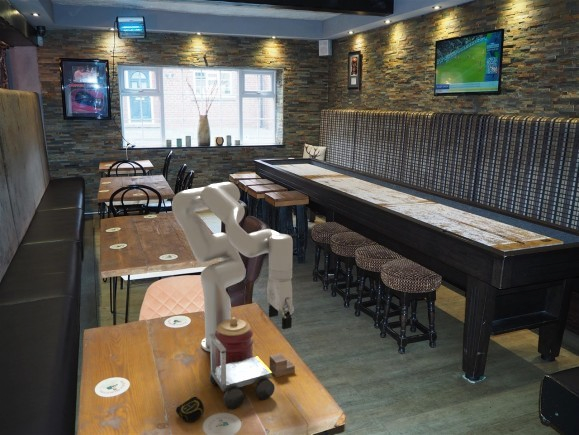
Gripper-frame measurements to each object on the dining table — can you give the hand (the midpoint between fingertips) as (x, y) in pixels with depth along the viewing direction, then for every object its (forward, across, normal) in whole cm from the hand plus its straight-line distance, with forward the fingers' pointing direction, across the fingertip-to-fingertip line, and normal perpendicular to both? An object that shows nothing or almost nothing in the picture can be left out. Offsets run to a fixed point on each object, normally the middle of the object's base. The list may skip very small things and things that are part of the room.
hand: (279, 322), depth 157 cm
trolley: (+18, +5, -16) cm, 25 cm away
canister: (+19, -11, -12) cm, 25 cm away
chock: (+18, 0, +1) cm, 19 cm away
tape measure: (+18, +7, -32) cm, 37 cm away
